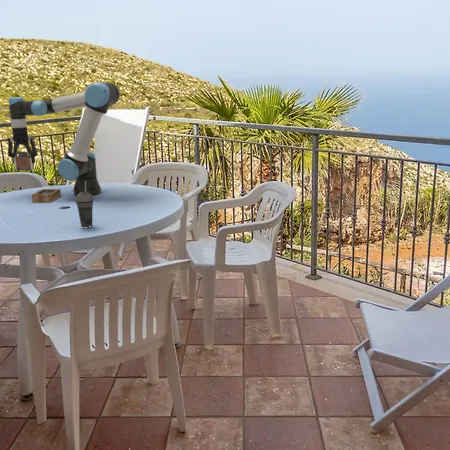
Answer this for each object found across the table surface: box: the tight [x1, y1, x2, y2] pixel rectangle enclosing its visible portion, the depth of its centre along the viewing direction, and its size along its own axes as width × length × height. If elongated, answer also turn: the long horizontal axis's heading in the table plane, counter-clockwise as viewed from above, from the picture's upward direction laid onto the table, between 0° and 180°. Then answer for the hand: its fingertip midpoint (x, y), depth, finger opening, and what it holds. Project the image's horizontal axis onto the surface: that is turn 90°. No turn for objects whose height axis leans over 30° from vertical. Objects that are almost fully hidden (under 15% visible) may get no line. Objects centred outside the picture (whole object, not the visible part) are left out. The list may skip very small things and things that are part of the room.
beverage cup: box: [75, 181, 94, 228], centre depth 217 cm, size 7×7×20 cm
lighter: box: [16, 151, 32, 171], centre depth 275 cm, size 8×3×10 cm, turn 84°
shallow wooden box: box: [31, 188, 62, 204], centre depth 271 cm, size 10×14×4 cm
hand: (24, 169), depth 276 cm, fingers closed on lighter, 8 cm apart
